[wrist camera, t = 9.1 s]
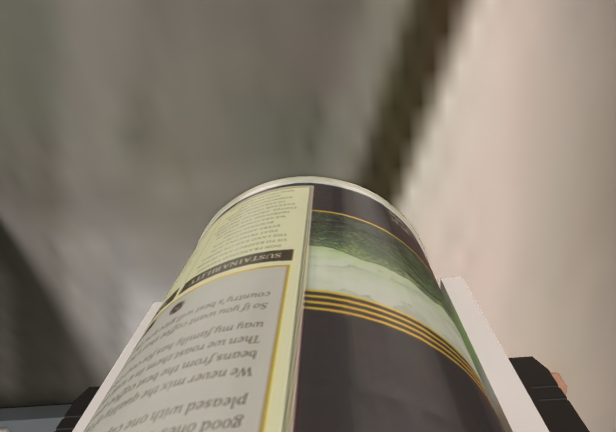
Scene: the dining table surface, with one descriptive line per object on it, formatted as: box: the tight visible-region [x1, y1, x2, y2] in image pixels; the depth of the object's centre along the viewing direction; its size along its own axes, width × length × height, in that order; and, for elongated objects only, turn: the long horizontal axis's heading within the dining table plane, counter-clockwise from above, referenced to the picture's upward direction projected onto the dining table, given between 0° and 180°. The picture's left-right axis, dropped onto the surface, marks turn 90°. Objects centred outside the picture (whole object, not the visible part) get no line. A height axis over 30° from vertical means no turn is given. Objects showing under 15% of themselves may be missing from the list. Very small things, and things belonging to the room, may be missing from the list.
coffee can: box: [83, 176, 505, 432], centre depth 11 cm, size 10×10×14 cm
